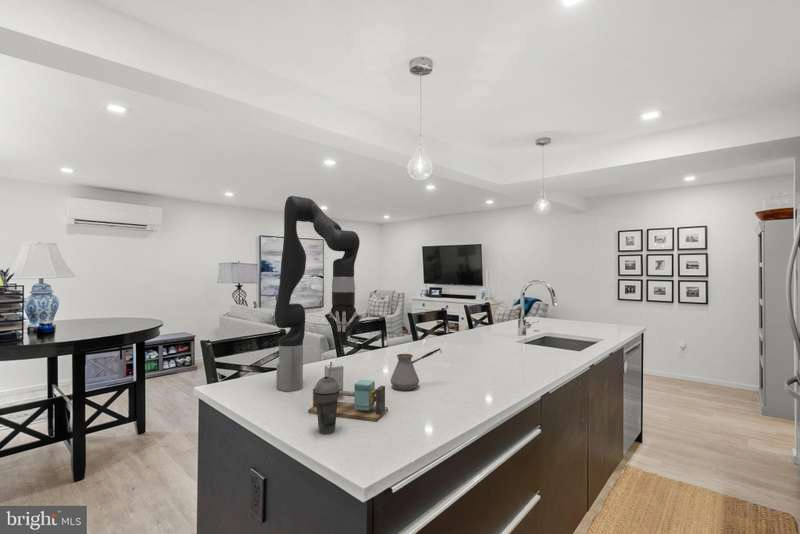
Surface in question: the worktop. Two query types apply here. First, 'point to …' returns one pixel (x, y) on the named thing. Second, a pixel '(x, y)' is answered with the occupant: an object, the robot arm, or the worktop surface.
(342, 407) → the rail stand
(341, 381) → the skincare box
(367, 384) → the sleeve
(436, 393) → the worktop surface
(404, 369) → the coffee pot
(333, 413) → the beverage cup
